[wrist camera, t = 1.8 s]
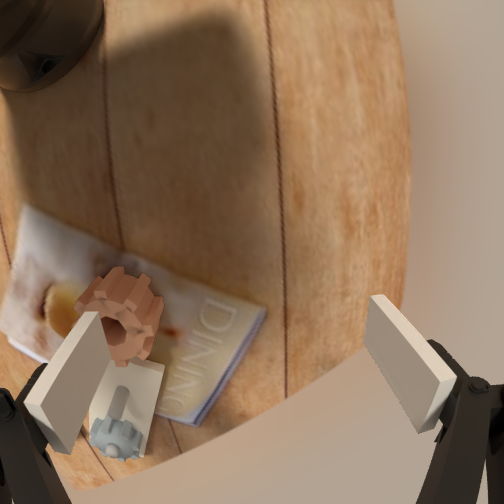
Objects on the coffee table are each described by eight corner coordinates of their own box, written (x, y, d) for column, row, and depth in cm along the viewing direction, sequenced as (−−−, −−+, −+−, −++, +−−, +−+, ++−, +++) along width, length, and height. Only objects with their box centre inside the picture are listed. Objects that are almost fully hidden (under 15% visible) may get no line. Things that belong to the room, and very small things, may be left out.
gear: (89, 321, 34) (70, 349, 28) (97, 257, 32) (75, 279, 26) (155, 343, 35) (145, 376, 30) (170, 281, 33) (160, 308, 27)
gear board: (91, 433, 41) (82, 461, 35) (96, 342, 35) (79, 372, 29) (144, 450, 42) (139, 479, 36) (165, 365, 36) (157, 398, 31)
